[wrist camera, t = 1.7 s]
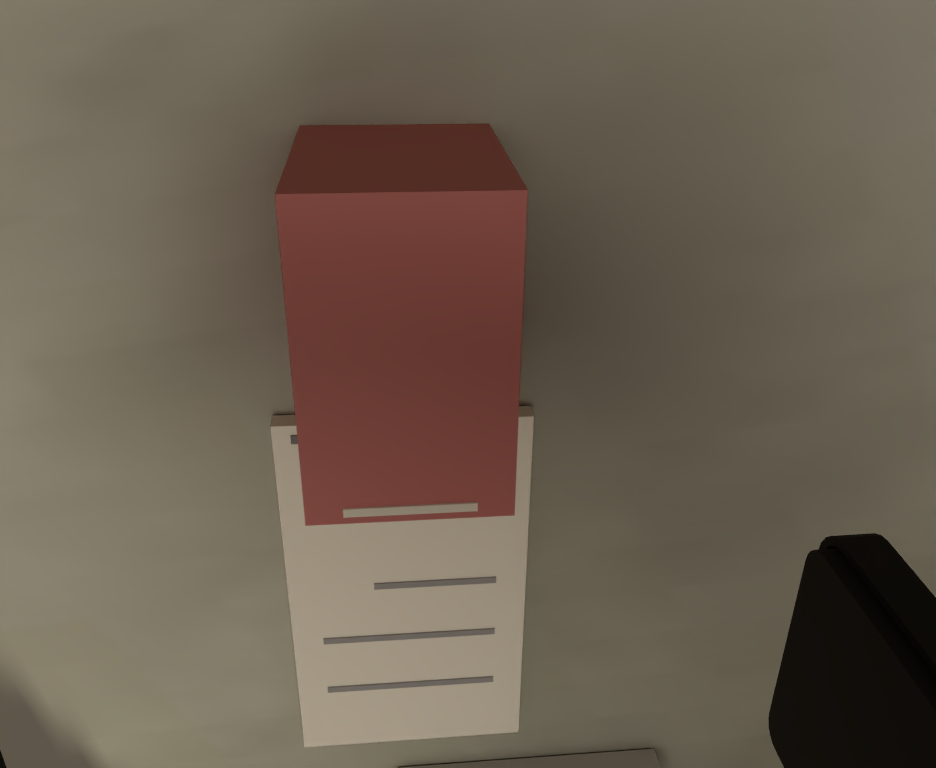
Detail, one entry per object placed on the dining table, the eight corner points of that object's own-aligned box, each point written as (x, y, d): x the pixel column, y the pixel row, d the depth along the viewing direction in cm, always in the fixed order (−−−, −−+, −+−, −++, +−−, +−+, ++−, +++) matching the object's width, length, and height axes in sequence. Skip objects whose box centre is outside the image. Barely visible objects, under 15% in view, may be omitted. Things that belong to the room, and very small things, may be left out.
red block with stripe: (488, 122, 21) (528, 191, 16) (483, 385, 24) (515, 517, 19) (299, 125, 21) (274, 195, 15) (320, 391, 24) (305, 527, 18)
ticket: (530, 405, 24) (534, 417, 24) (515, 718, 30) (518, 733, 29) (273, 415, 24) (269, 427, 23) (305, 732, 29) (304, 748, 29)
